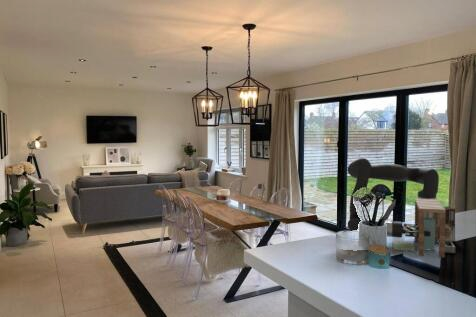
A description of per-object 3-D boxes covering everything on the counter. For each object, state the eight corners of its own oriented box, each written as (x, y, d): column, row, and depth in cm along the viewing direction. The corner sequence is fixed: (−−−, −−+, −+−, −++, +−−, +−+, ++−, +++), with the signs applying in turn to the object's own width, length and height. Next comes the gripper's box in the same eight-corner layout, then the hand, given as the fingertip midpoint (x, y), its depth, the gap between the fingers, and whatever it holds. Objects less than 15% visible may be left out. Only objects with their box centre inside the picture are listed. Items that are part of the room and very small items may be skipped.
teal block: (422, 246, 170) (422, 217, 169) (433, 247, 168) (433, 217, 167) (423, 249, 166) (423, 219, 165) (434, 250, 164) (435, 220, 163)
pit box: (441, 246, 169) (441, 240, 169) (451, 247, 167) (451, 241, 167) (444, 252, 160) (444, 246, 160) (455, 253, 159) (455, 247, 159)
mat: (393, 241, 178) (393, 241, 178) (413, 243, 175) (413, 242, 175) (393, 249, 167) (393, 248, 167) (415, 251, 164) (415, 250, 164)
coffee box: (449, 237, 182) (449, 206, 181) (455, 241, 176) (456, 208, 175) (430, 237, 183) (430, 206, 182) (435, 241, 177) (436, 209, 176)
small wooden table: (414, 240, 179) (414, 198, 178) (437, 241, 176) (437, 199, 174) (418, 255, 158) (419, 208, 157) (444, 257, 154) (445, 209, 153)
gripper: (391, 224, 165) (431, 227, 159) (390, 217, 179) (427, 219, 172) (391, 240, 166) (431, 244, 160) (390, 232, 179) (427, 235, 173)
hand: (429, 231), depth 166 cm, fingers open, 8 cm apart
